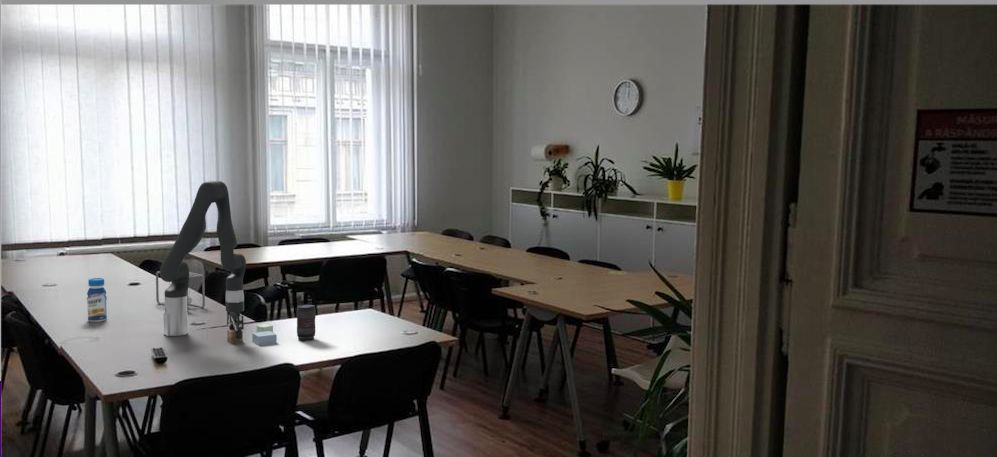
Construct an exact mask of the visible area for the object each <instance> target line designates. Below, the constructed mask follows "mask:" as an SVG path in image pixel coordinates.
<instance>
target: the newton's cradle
mask: <svg viewBox="0 0 997 457" xmlns="http://www.w3.org/2000/svg"><path fill="white" fill-rule="evenodd" d="M159 275H160V270H158V271H156V272H155V292H156V293H155V297H156V300H155V301H156V303H157V304H158V305H161V306H164V307H165V301H162V302H160V298H159V296H160V294H159V291H160V290H159ZM195 277H200V278H201V281H202V282H201V284H202V285H201V286H202V289H201V290H202V299H201V300H202V304H201V305H199V304H196V303H192V301H193V298H192V297H191V296H190V295H189V294H190V292H191V290H188V291H187V311H188V310H189V311H190V310H194V309H195V310H196V309H204V308H205V306H206V298H205V297H206V295H205V294H206V291H205V290H206V289H205V288H206V287H205V283H206V282H205V276H204V274H201V273H196V272H192V271H189V278H191V279H190V281H192V279H193V278H195ZM168 283H169V284H171V283H170V282H168ZM191 285H192V284H190V286H189V288H191V287H192V286H191ZM189 307H191V308H189Z"/></svg>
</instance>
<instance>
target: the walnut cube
mask: <svg viewBox="0 0 997 457" xmlns="http://www.w3.org/2000/svg"><path fill="white" fill-rule="evenodd" d="M226 331H227V332H226V337H227V338H226V339H227V342H228V343H230V344H238V343H243V341H244V336H243V334H244V332H243V330H242V338H241V339H236V328H235V329H231V330H229V329H227V330H226Z"/></svg>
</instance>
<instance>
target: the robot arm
mask: <svg viewBox="0 0 997 457" xmlns="http://www.w3.org/2000/svg"><path fill="white" fill-rule="evenodd" d="M213 203H215V204H216V208H217V209H216V210H217V222H216V235H217V238H218V239H217V240H218V242H219V246H220V263H221V266H222V268H223V269H224V270H225V271H227V272H230V275H228V276H227V277H226V279H225V296H224V297H225V311H226V325H227V326H228V330H231V329H236V339H241V338H242V331H243V330H244V329H245V325H244V315H241V312H244V311H245V293H244V281H243V280H244V277H245V273H246V269H247V268H246V267H247V260H246V257H245V256H244V255H243V254H242V253H235V252H234V251H235V248H237V247H238V240H237V237H236V233H235V229H234V226H233V222H232V221H233V220H232V215H231V214H232V213H231V206H230V205H231V204H230V195H229V189H228V186H227V185H226V184H225V182H223V181H220V180H208V181H204V182H202V183H201V184H200V185H199V187H198V190H197V193H196V195H195V197H194V201H193V204H192V206H191V209H190V211H189V213H188V215H187V217H186V218H185V222H184V223H183V224H182V227H181V229H180V231H179V234H178V235H177V238H176V240H174V241H175V242H174V244H173V246H172V248H171V250H170V251H169V253H168V254H167V256H166V257H165V258H164V260H163V261H162V263H161V266H160V268H159V271H160V273H159V277H160V278H161V280H162V281H164V282H166V283H169V282H171V283H170V284H169V286H168V287H167V288H165V290H164V302H165V306H164V312H163V334H164V335H165V336H166V337H179V336H185V335H187V334H188V331H189V330H188V310H187V291H188V292H189V289H190V286H189V284H190V275H189V272H190V268H189V265H188V263H187V261H185V260H184V259H185V258H186V257H187V256H188V254H190V253H192V251H193V250H194V249H195V248H196V247H197V246H198V245H199V243H201V241H202V239H203V237H204V235H205V232H206V231H207V222H206V215H207V213H208V210H209V208H210V207H211V205H212V204H213Z"/></svg>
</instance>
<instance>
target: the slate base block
mask: <svg viewBox="0 0 997 457" xmlns="http://www.w3.org/2000/svg"><path fill="white" fill-rule="evenodd" d="M251 335H252V336H251V339H252V343H253V344H256V345H257V346H262V345H263V346H264V345H272V344H277V341H278V340H277V334H276V333H274V331H273V332H271V331H266V332H257V331H256V332H252V334H251Z"/></svg>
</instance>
